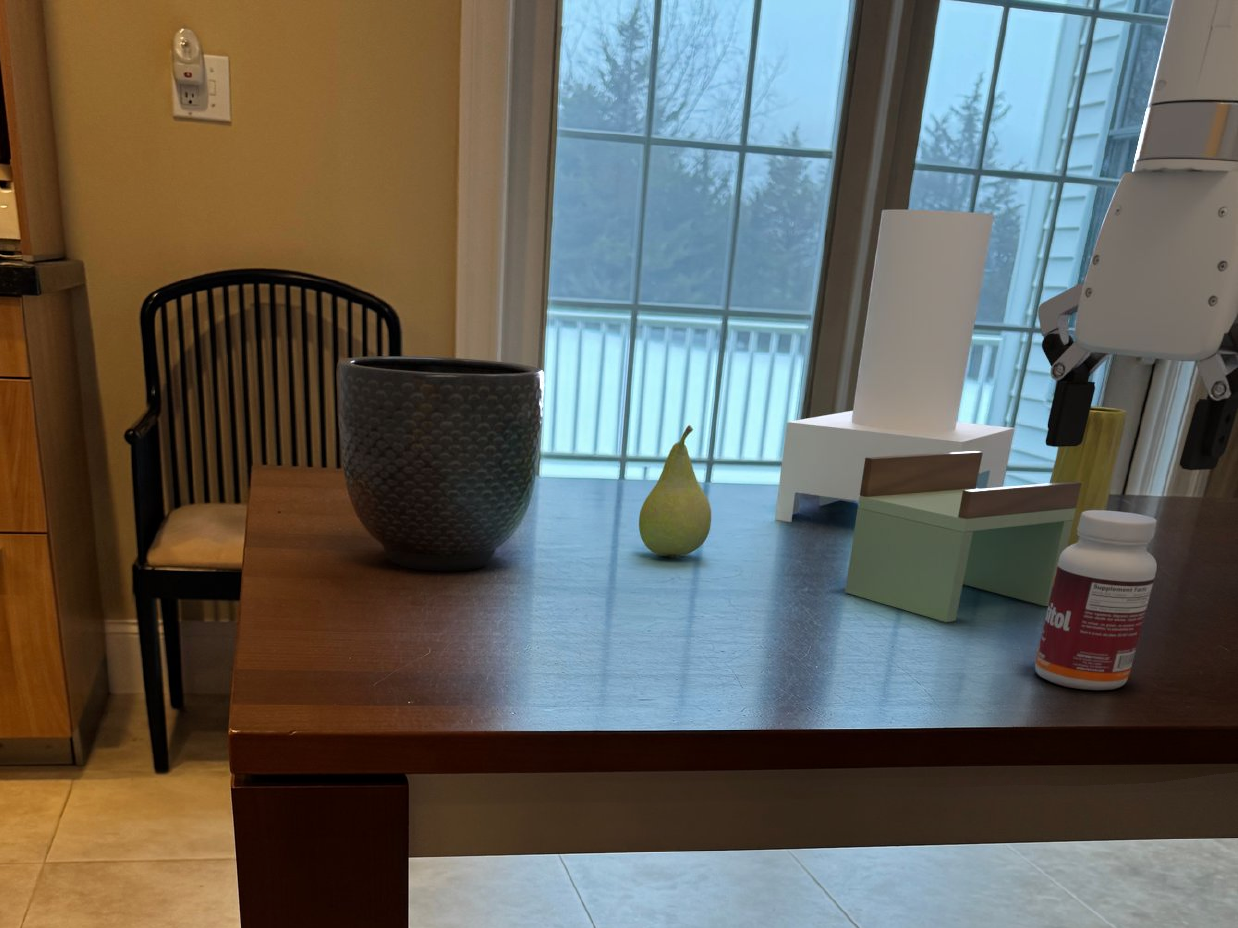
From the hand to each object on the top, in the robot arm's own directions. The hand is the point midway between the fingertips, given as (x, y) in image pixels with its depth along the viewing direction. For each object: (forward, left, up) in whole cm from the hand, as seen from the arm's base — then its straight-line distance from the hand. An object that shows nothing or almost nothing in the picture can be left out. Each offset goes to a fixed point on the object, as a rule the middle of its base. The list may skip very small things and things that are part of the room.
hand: (1127, 456), depth 83 cm
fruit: (+43, +1, -15) cm, 45 cm away
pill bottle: (0, 0, -15) cm, 15 cm away
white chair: (+49, -35, -15) cm, 62 cm away
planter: (+50, +22, -15) cm, 56 cm away
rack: (+20, -11, -15) cm, 28 cm away
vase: (+25, -33, -15) cm, 44 cm away
